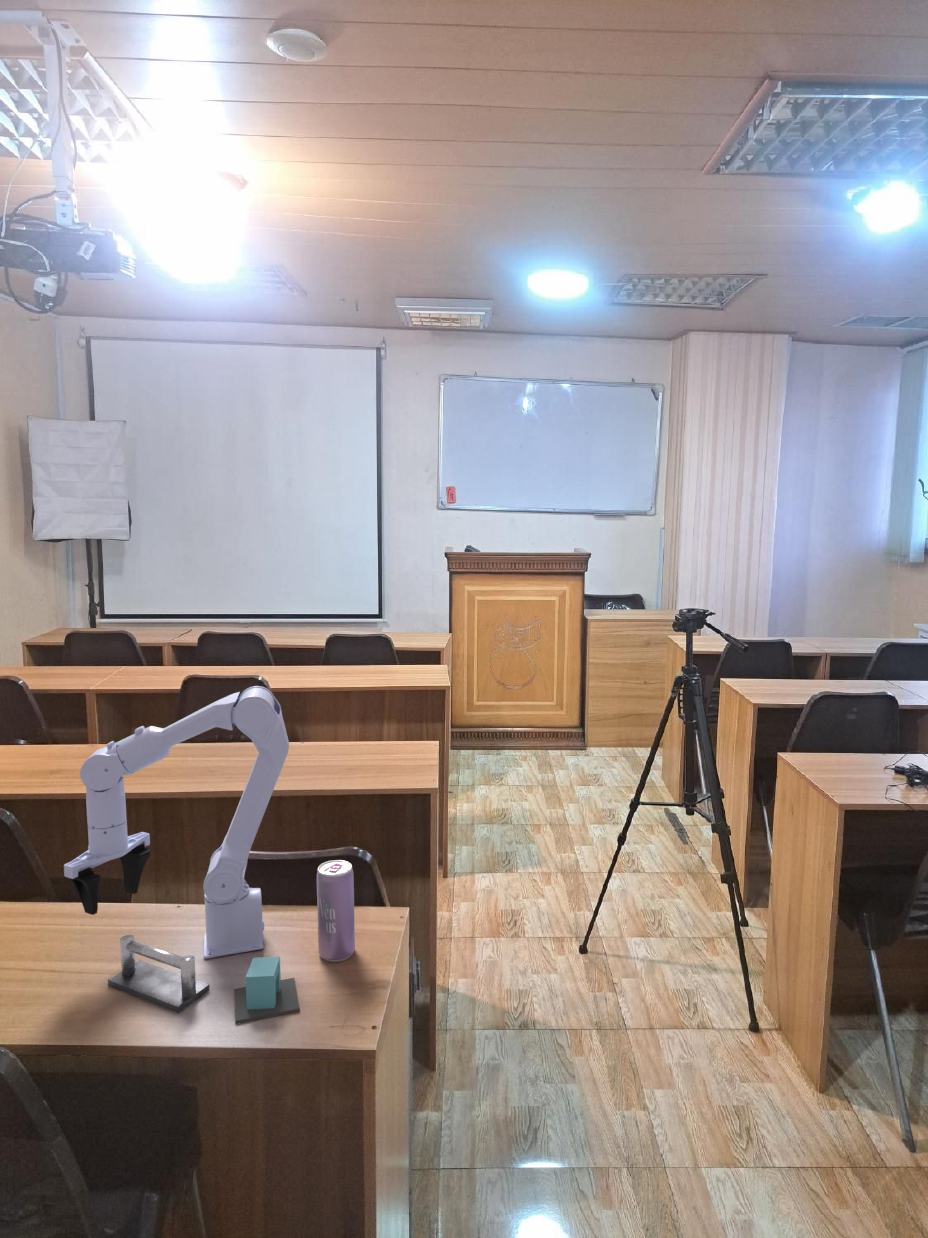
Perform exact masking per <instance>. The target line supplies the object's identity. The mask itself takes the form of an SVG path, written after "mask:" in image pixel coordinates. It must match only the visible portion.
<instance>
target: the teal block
mask: <svg viewBox="0 0 928 1238" xmlns="http://www.w3.org/2000/svg"><path fill="white" fill-rule="evenodd" d="M281 976H282V975H281V957H280V956H269V957H268V956H264V957H263V956H262V957H252V960H251V963H250V964H249V967H248V970H247V972H246V975H245V987H246V1001H247V1009H269V1008H275V1006H276V993H278V992H280V989H281V980H282V977H281Z"/></svg>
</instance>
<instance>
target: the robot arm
mask: <svg viewBox="0 0 928 1238" xmlns="http://www.w3.org/2000/svg"><path fill="white" fill-rule="evenodd" d="M240 692H241V691H238V692H235V693H231V694H229V695H226V696H225V697H222V698H220V699H218V700H216V701H214V702H212V703H210V704H208V705H206V706H204V707H202V708H200V709H198V710H196V711H194V712H192V713H191V714H189V715H187V716H185V717H183V718H182V719H179V720H177V721H176V722H174V723H172V724H169V725H168V726H166V727H164V728H162V727H157V726H156V725H155V726H154V725H150V726H147V727H145V726H144V725H142V726H139V727H137V728H135V730H134V733H133V734H131V735H129V736H127V737H125V738H122V739H121V740H119V741H117V742H115V741H114V740H111V741H110V742H108V743H107V744H106V746H105V747H104V746H102V747H101V748H98V749H97V750H95V751H94V752H93V753H92V754H91V755H90V756H89V757H88V758H87V759H86V760H85V761H84V762H83V764H82V766H81V768H80V770H79V776H80V780H81V782H82V784H83V785H84V786H85V791H86V792H85V795H86V796H85V804H86V819H87V820H86V821H87V822H86V823H87V833H88V834H87V835H88V838H87V839H88V846H87V850H86V851H84V852H83V853H82V854H80V855H79V856H77V857H75V858H74V859H72V860H70V861H69V862H66V863H64V865H63V873H64V874H63V875H64V877H65V878H66V879H67V880H68V881H69V883H70V884H71V885H72V886H73V888H74V889H75V891H76V893H77V895H78V897H79V899H80V901H81V904H82V907H83V909H84V913H86V914H87V915H96V914H98V909H99V902H98V901H99V900H98V892H99V885H100V880H101V878H102V876H101V875H100V874H96V873H95V871H94V870H92V869H93V868H96V867H98V866H100V865H103V864H105V863H107V862H109V861H112V860H116V859H120V862H121V868H122V872H123V873H122V874H123V885H124V890H125V892H126V893H128V894H132V895H136V894H137V893H138V891H139V886H140V885H139V884H140V880H141V877H142V874H143V870H144V867H145V865H146V863H147V862H148V860H149V857H150V856H151V850H150V849H149V848H147V846H150V845H151V839H150V838H151V836H150V833H148V832H144V831H141V832H140V831H139V832H138V833H135V834H131V835H128V823H127V821H128V819H127V804H126V803H127V802H126V792H125V779H124V776H131V775H133V774H136V773H137V772H139V771H141V770H143V769H145V768H148V767H149V766H152V765H154V764H155V763H158V762H160V761H163V760H164V759H165V758H167V757H168V756H169V754H170V750H171V748H172V747H174V746H176V745H177V744H180V743H182V742H185V741H186V740H189V739H192V738H193V737H196V736H198V735H201V734H203V733H205V732H207V731H210V730H212V729H214V728H220V729H223V730H227V731H233V730H234V727H235V726H236V727H237V729H238V730H240V732H241V733H243V734H244V735H245V736H247V737H248V738H249V739H250V740H251V742H252V743H253V745H254V747H255V748H256V750H257V751H258V753H257V755H256V759H255V760H254V764H253V765H252V769H251V772H250V774H249V776H248V780H247V781H246V784H245V786H244V789H243V792H242V794H241V797H240V799H239V802H238V805H237V807H236V810H235V813H234V816H233V817H232V820H231V823H230V826H229V828H228V830H227V833H226V835H225V836H224V839H223V842H222V843H221V845H220V847H218V848H217V849H216V850H214V852H213V853H212V855H211V857H210V859H209V866H208V870H207V874H206V876H205V877H204V881H203V884H202V885H203V886H202V887H203V888H202V889H203V892H204V912H205V913H204V914H205V915H204V916H205V933H204V935H203V937H204V938H203V939H204V940H203V958H204V959H212V958H217V957H218V958H219V957H223V956H224V957H225V956H230V955H235V954H240V953H247V952H252V951H253V952H254V951H258V950H263V948H264V931H265V920H264V919H263V904H262V890H261V888H260V887H250V886H249V884H248V883H247V881H246V879H245V874H246V870H247V866H248V858H249V855H250V851H251V849H252V845H253V843H254V841H255V838H256V836H257V834H258V830H259V828H260V826H261V823H262V821H263V817H264V815H265V812H266V810H267V807H268V805H269V803H270V799H271V797H272V795H273V792H274V789H275V786H276V784H277V782H278V779H279V777H280V774H281V771H282V769H283V767H284V763H285V762H286V761H285V760H286V759H287V756H288V753H289V749H290V741H289V737H288V734H287V729H286V725H285V724H286V723H285V721H284V718H283V717H284V716H283V713H282V712H283V711H282V707H281V704H280V703H279V701H278V699H276V697H275V696H274V693H272V690H271V691H270V690H269V688H266V687H264V686H262V685H261V686H259V685H254V686H250V687H248V688H246V689H244V690H243V691H242V692H241V693H240Z"/></svg>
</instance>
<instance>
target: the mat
mask: <svg viewBox="0 0 928 1238" xmlns="http://www.w3.org/2000/svg"><path fill="white" fill-rule="evenodd" d="M295 979H296V978H295V977H291V978H285V979H281V989H280V992H278V993H276V1006H275V1008H269V1009H247V1001H246V986H241V987H236V988H234V989H233V997H234V998H233V1000H234V1021H235V1022H234V1023H235V1025H238V1024H239V1025H240V1024H243V1023H244V1024H245V1023H249V1022H253V1021H259V1020H262V1019H267V1018H268V1019H269V1018H274V1017H278V1016H282V1015H289V1014H293V1013H298V1012H300V1009H301V1008H300V1004H299V1003H300V1002H299V998H298V991H297V985H296V980H295Z"/></svg>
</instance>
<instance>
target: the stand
mask: <svg viewBox="0 0 928 1238" xmlns="http://www.w3.org/2000/svg"><path fill="white" fill-rule="evenodd" d="M119 943H120V944H119V947H120V960H121V961H120V962H121V963H120V964H121V971H120V972H118V973H116V974H115V975H113V976H112V977H110V978H109V979H107V986H108V987H110V988H113V989H115V990H118V991H120V992H123V993H126V994H128V995H130V996H134V997H136V998H138V999H140V1000H141V999H142V1000H143V1001H146V1002H149V1003H150V1004H151V1003H152V1004H154V1005H156V1006H159V1007H162V1008H164V1009H167V1010H168V1011H169V1010H170V1011H172V1012H174V1013H177V1014H179V1013H181V1012H182V1011H183V1010H185V1009H187V1007H189V1006H190V1005H192V1004H193V1003H194V1002H196V1001H197V1000H199V999H200V998H202V997H203V996H204V995H206V993H208V992H210V984H209V983H207V982H202V981H200V980H198V979H197V978H196V962H195V959H196V957H195V955H192V954H188V955H185V956H181V955H178V954H175V953H173V952H169V951H167V950H163V949H160V948H157V947H154V946H153V945H149V944H146V943H143V942H141V941H137V940H135V936H134V935H133V934H126V935H124V936H122V937H120V938H119ZM136 954H137V955H140V956H142V957H145V958H147V959H150V960H154V961H157V962H159V963H162V964H164V965H168V966H171V967H173V968H176V969H179V970H180V973H178V972H176V971H172V970H169V969H167V968H164V967H161V966H157V965H155V964H153V963H150V962H147V961H144V960H141V959H140V960H138V961H137V962H136Z"/></svg>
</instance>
